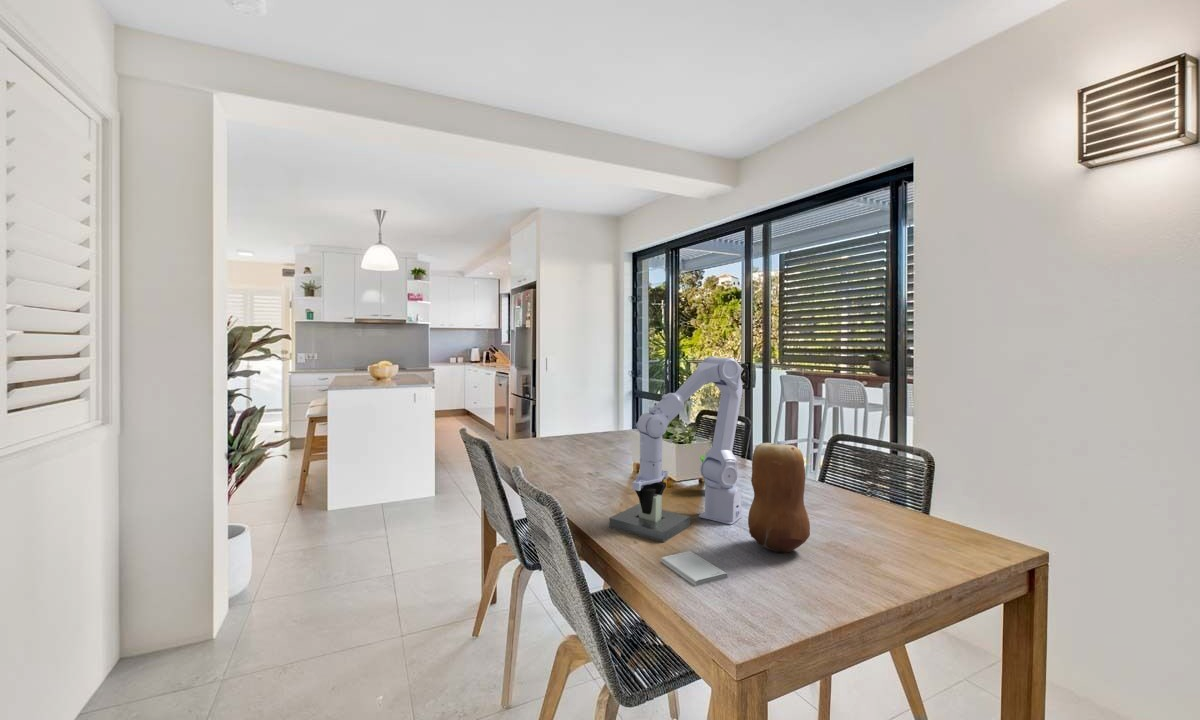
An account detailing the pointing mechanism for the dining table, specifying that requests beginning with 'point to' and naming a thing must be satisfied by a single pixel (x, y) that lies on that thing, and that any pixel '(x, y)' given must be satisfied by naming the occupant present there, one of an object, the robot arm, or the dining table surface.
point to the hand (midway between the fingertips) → (650, 511)
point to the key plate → (650, 524)
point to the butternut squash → (778, 498)
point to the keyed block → (653, 509)
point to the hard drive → (693, 568)
